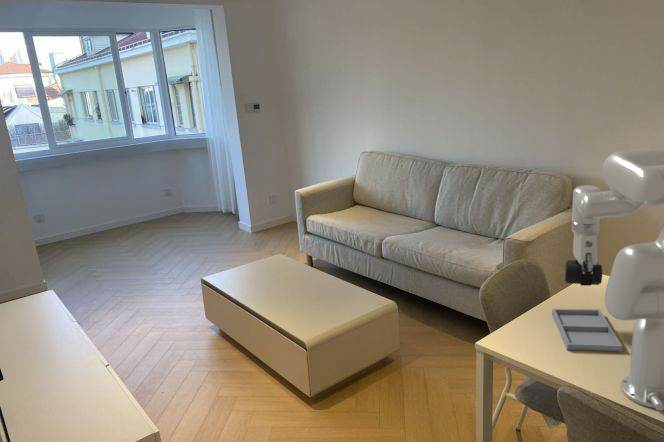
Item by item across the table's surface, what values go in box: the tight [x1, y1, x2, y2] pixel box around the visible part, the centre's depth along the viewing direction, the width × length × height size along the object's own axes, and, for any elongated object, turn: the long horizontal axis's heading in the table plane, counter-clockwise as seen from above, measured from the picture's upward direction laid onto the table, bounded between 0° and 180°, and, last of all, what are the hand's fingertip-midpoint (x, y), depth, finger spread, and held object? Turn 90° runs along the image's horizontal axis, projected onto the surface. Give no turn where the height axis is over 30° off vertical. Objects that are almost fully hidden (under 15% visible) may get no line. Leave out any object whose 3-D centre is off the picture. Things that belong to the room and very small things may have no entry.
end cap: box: [564, 259, 603, 286], centre depth 155 cm, size 10×7×7 cm
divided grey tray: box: [551, 308, 623, 353], centre depth 155 cm, size 22×15×2 cm, turn 167°
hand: (582, 279), depth 155 cm, fingers closed on end cap, 7 cm apart
